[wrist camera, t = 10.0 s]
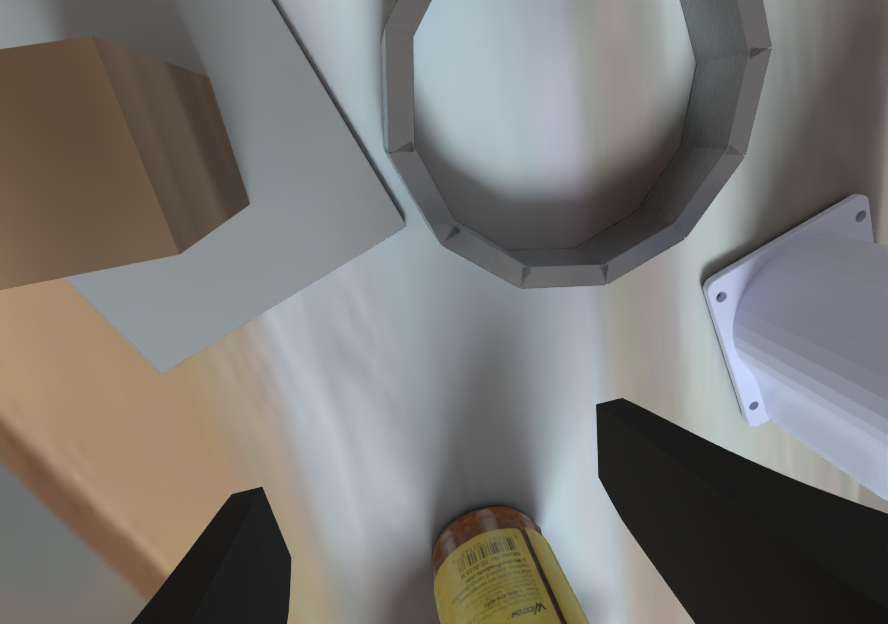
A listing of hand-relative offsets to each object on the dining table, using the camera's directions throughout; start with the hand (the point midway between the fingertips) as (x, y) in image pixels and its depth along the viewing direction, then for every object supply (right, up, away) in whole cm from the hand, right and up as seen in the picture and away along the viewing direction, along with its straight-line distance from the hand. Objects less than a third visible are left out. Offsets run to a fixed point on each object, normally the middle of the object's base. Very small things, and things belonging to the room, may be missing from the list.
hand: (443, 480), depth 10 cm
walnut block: (-9, +9, +5) cm, 14 cm away
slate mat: (-9, +9, +6) cm, 14 cm away
